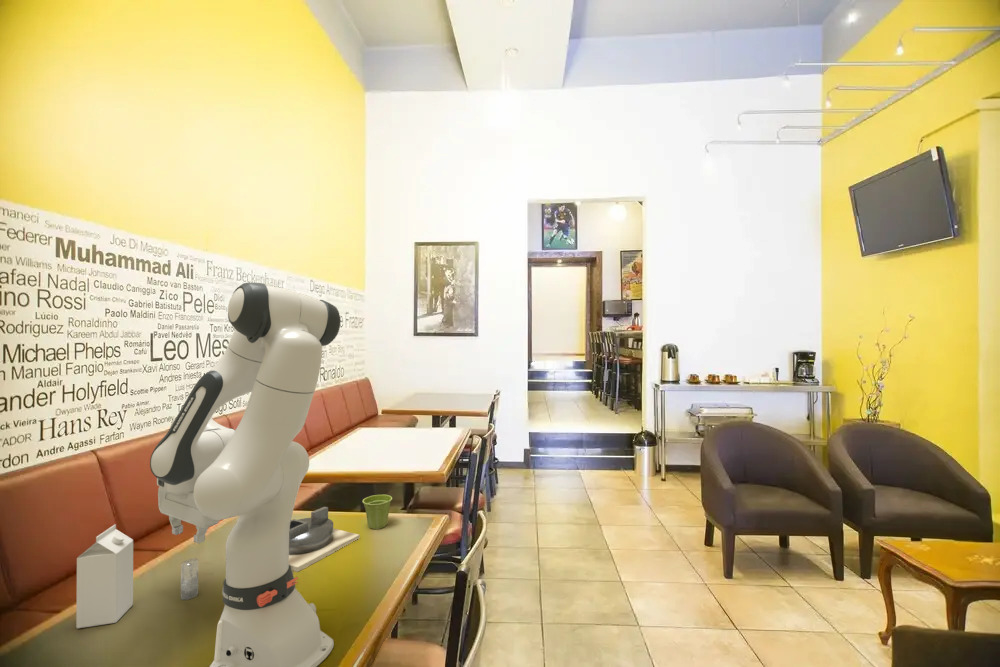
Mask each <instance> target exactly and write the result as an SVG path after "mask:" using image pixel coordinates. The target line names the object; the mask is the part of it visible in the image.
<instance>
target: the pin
mask: <svg viewBox="0 0 1000 667" xmlns="http://www.w3.org/2000/svg"><path fill="white" fill-rule="evenodd" d="M198 595H199V559H198V558H190V559H187V560H186V559H185V560H184V561H182V562H181V563H180V599H181V600H182V601H186V600H191V599H194V598H195V597H197V596H198Z"/></svg>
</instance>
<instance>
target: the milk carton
mask: <svg viewBox="0 0 1000 667" xmlns="http://www.w3.org/2000/svg"><path fill="white" fill-rule="evenodd" d="M132 606H134V539H133V538H131V537H130V536H128V535H126V534H124V533H123V532H121V531H120V530H118V529H117V524H115V523H114V524H113V525H112V526H110V527H109V528H107V529H106V530H104V531H103V532H102V533H100V534H98V535H97V536H95V542H94V543H93V544H91V546H89V548H87V549H86V550H85V551H84V552H82V553H81V554H80V555H78V557H77V558H76V616H75V617H76V621H75V622H76V624H75V625H76V626H75V627H76V629H81V628H82V629H83V628H90V627H96V626H103V625H109V624H115V623H117V622H118V621H119V620H121V618H122V617H123V616H124V615H125V614H126V613H127V612H128V611H129V610H130V608H131V607H132Z"/></svg>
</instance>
